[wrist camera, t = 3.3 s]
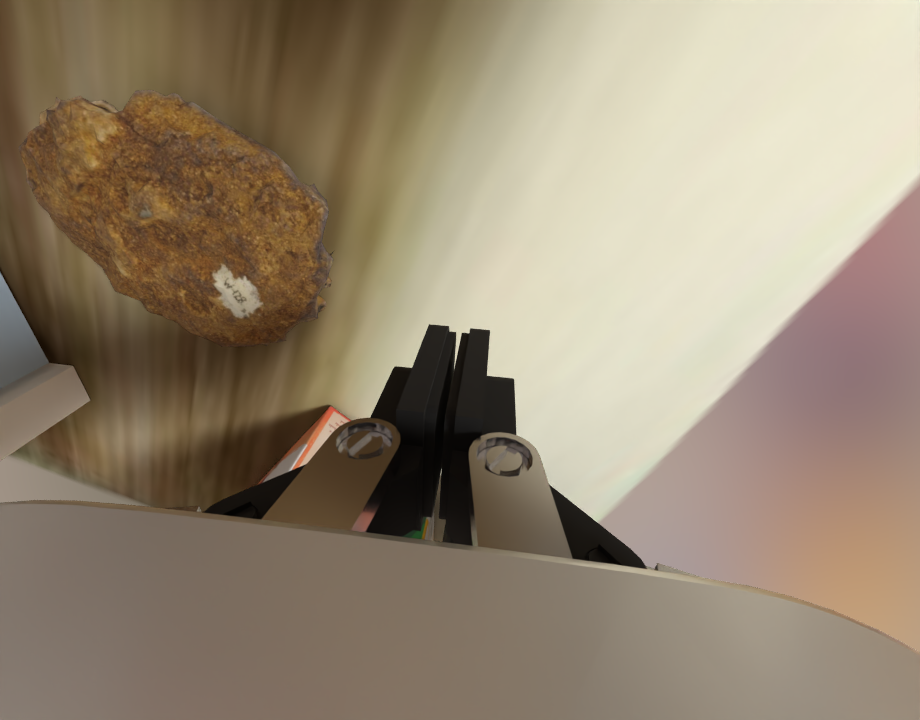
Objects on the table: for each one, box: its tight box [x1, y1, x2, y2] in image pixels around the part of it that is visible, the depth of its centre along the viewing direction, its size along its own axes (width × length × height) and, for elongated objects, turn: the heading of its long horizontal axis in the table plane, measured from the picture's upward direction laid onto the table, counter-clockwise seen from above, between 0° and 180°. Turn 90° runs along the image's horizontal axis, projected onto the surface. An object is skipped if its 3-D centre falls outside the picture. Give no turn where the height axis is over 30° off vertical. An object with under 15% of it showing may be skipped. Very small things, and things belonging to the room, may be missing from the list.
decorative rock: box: [19, 90, 334, 347], centre depth 21 cm, size 11×4×15 cm
